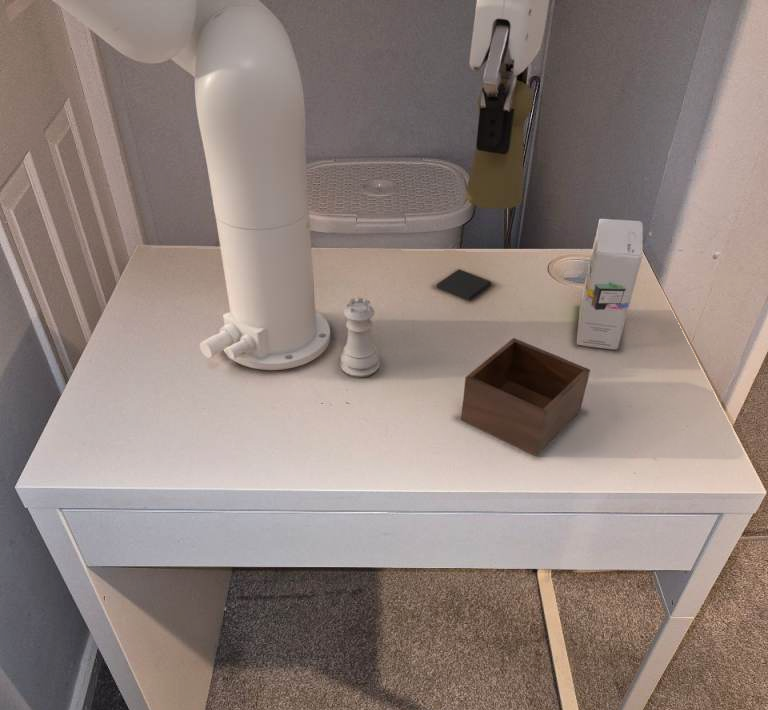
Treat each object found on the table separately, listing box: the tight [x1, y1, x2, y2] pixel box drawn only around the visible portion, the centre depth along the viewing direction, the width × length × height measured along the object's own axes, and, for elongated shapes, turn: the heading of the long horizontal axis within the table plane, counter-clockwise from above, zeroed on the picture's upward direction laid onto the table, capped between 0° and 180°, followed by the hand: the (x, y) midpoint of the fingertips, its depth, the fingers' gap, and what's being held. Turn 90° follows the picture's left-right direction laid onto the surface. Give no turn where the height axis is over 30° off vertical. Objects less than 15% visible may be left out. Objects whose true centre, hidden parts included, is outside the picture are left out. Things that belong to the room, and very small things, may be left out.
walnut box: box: [460, 337, 591, 457], centre depth 77 cm, size 9×9×5 cm
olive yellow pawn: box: [464, 79, 534, 210], centre depth 76 cm, size 6×6×11 cm
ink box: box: [576, 218, 644, 351], centre depth 87 cm, size 8×5×12 cm, turn 167°
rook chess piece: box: [339, 296, 381, 379], centre depth 82 cm, size 4×4×8 cm
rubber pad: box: [436, 269, 492, 301], centre depth 97 cm, size 5×5×1 cm
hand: (500, 138), depth 76 cm, fingers closed on olive yellow pawn, 5 cm apart
